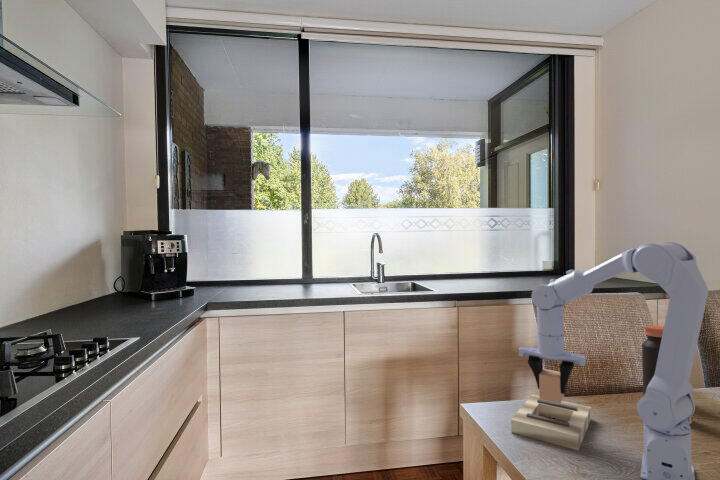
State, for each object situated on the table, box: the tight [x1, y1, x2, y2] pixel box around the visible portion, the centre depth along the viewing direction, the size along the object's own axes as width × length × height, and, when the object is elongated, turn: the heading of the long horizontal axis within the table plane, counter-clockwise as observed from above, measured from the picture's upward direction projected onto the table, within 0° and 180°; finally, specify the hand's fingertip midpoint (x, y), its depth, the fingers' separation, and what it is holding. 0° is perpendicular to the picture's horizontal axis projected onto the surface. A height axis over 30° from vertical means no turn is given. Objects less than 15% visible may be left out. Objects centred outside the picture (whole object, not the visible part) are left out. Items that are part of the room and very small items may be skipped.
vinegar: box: [641, 324, 664, 397], centre depth 109 cm, size 7×7×20 cm
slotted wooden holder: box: [510, 394, 592, 451], centre depth 96 cm, size 18×14×4 cm
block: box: [538, 368, 565, 403], centre depth 96 cm, size 4×4×6 cm
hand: (551, 390), depth 96 cm, fingers closed on block, 4 cm apart
